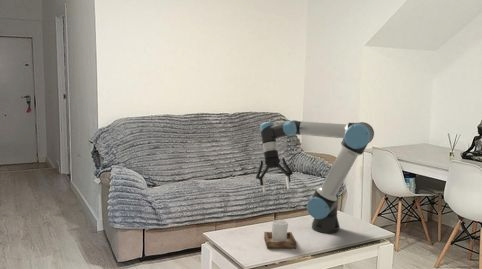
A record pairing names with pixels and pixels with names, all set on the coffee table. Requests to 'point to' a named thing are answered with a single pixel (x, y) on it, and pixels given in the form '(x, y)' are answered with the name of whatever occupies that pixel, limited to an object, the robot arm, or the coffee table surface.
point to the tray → (287, 244)
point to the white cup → (279, 230)
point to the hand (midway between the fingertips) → (276, 190)
